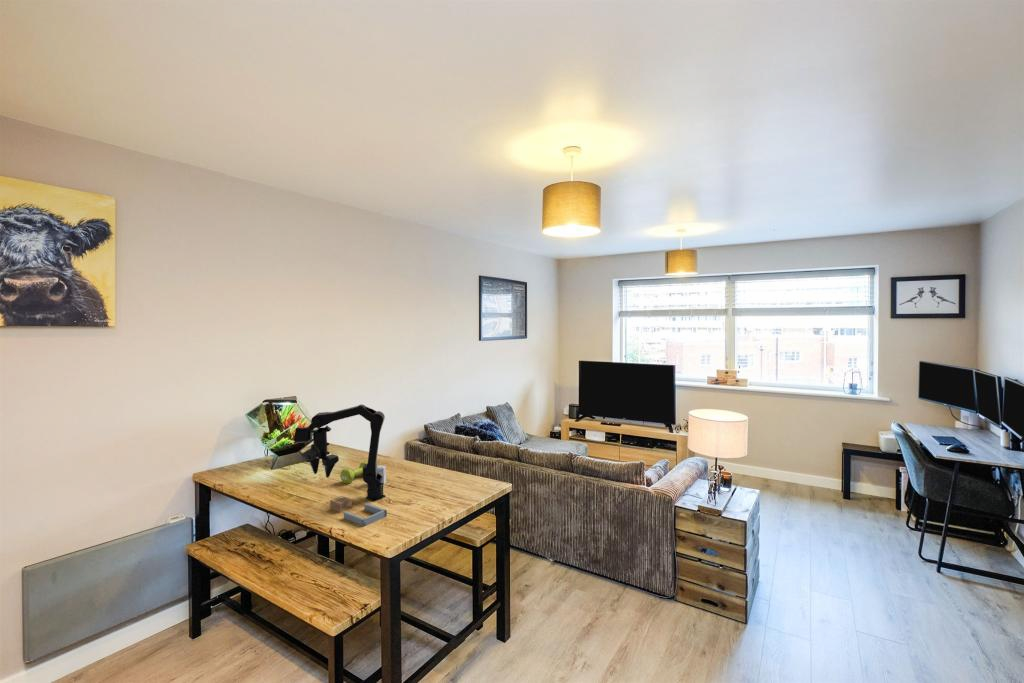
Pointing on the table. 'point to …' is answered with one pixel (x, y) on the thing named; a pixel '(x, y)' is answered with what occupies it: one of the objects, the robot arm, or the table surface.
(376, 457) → the robot arm
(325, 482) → the table surface
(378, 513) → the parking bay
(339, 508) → the block
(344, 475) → the dumbbell
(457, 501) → the table surface
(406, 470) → the table surface
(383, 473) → the medicine box
